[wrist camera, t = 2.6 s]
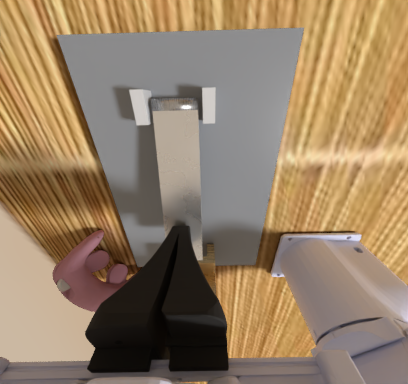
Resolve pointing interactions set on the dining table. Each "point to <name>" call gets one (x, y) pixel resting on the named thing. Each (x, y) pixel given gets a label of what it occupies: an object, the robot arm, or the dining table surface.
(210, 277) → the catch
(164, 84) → the base board
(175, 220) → the silver flat bar
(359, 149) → the dining table surface
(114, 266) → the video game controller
